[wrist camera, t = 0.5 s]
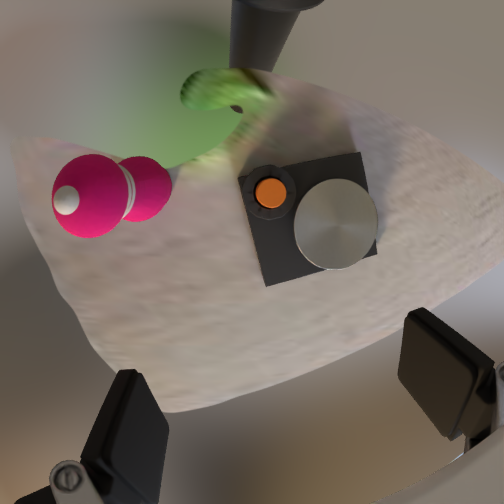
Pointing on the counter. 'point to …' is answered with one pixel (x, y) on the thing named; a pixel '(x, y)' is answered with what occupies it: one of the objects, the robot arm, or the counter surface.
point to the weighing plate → (335, 223)
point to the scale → (291, 212)
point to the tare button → (271, 192)
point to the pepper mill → (108, 193)
